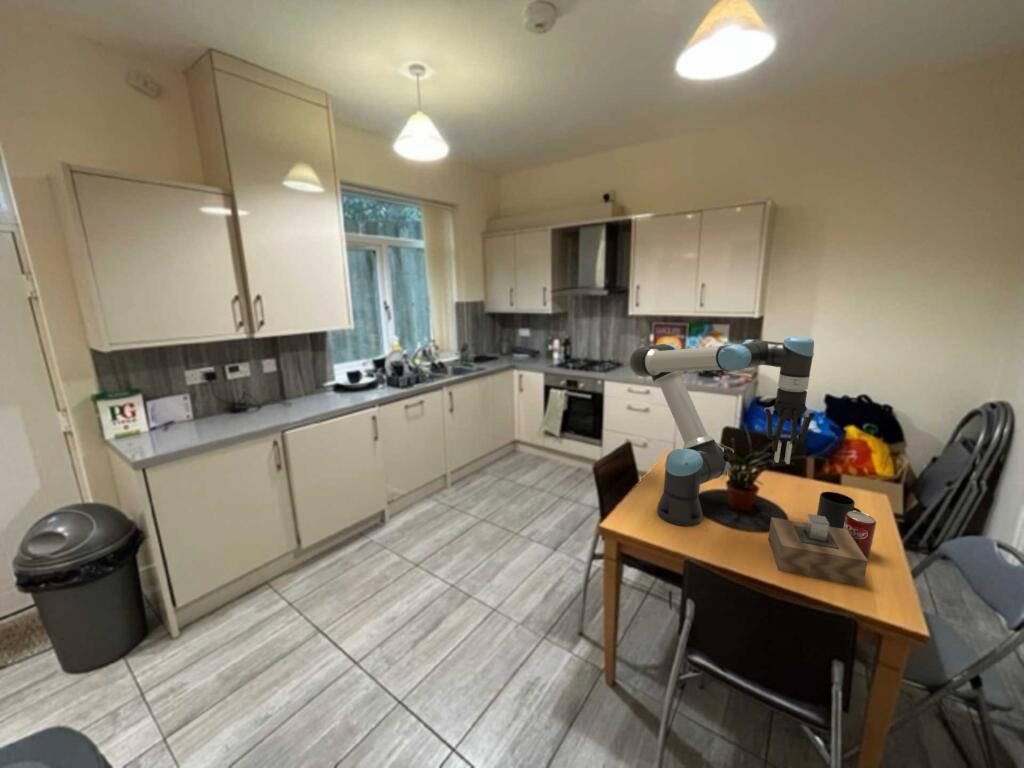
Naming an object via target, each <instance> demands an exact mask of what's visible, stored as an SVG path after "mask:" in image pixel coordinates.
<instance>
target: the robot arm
mask: <svg viewBox="0 0 1024 768" xmlns="http://www.w3.org/2000/svg"><path fill="white" fill-rule="evenodd" d="M814 348H815V341H814V339H812V338H811V337H807V336H806V337H805V336H786V337H785V338H784V341H783V342H778V341H769V340H760V339H746V340H744V342H743V343H737V344H736V343H735V344H727V345H725V344H724V345H717V346H716V345H715V346H714V345H713V346H705V347H701V346H700V347H691V348H689V347H688V348H681V349H680V348H678V346H676V345H673V344H672V343H671V344H670V343H661V344H654V345H648V346H646V345H645V346H642V347H641V346H640V347H639V348H637V349H635V350H634V351H633V352H632V353H631V356H630V357H629V367H630V369H631V371H632V372H633V373H634V374H636V376H639V377H642V378H647V377H651V379H652V381H653V383H654V384H656V385H658V386H659V387H660V390H661V392H662V393H663V397H664V398H665V399H664V400H665V401H666V404H667V406H668V408H669V410H670V412H671V415H672V418H673V419H674V422H675V425H676V427H677V429H678V431H679V434H680V436H681V438H682V441H683V447H682V448H676V449H674V450H672V451H670V452H668V453H667V456H666V460H665V464H664V467H665V470H664V483H663V492H662V494H661V496H660V499H659V501H658V503H657V505H656V513H657V515H658V516H659V518H661V519H662V520H664V521H665V522H667V523H670V524H673V525H676V526H679V527H680V526H682V527H691V526H692V527H693V526H697V525H698V524H701V522H702V520H703V511H702V506H701V502H700V498H699V497H700V489H701V488H700V487H701V485H702V484H705V483H707V482H710V481H713V480H716V479H718V478H720V477H722V476H723V475H725V474H726V473H727V472H728V470H729V468H730V464H728V462H726V461H725V460H724V458H723V457H724V448H723V447H721V446H719V445H720V444H717V443H716V440H715V438H713V437H711V436H709V434H707V431H706V429H705V427H704V425H703V422H702V420H701V418H700V416H699V413H698V411H697V409H696V407H695V404H694V402H693V400H692V398H691V395H690V393H689V391H688V389H687V386H686V384H685V381H684V380H683V378H682V377H683V373H684V372H695V371H696V372H697V371H700V372H701V371H722V370H725V371H730V372H731V371H733V372H735V371H741V370H744V369H749V368H755V367H759V366H766V367H775V368H780V370H779V377H778V383H777V387H778V388H777V391H776V396H775V397H776V399H775V402H774V403H773V404H772V406H769V407H767V406H765V407H764V408H763V411H764V412H765V416H766V417H765V419H766V438H767V439H768V440H770V441H772V443H771V444H772V446H771V449H772V452H774V458H773V459H774V460H773V461H774V462H775V463H777V464H778V463H779V461H780V456H781V450H782V449H781V448H782V442H781V440H780V438H781V435H782V431H783V428H784V424H785V423H786V420H790V437H789V439H790V441H789V440H787V441H786V448H785V455H784V456H785V457H784V462H785V464H786V465H790V463H791V455H792V454H795V452H796V448H797V445H798V444H800V443H801V444H803V443H804V442H805V441H806V437H807V433H808V431H809V428H810V425H811V422H812V420H814V418H815V416H816V414H815V412H814V411H812V410H809V409H807V406H806V402H807V397H808V396H807V395H808V391H807V390H808V388H809V381H810V376H811V368H812V364H813V358H814V355H815V354H814V351H815V350H814ZM774 411H775V412H776V413H777V416H778V417H777V422H776V426H775V428H774V432H773V414H774ZM802 415H803V416H804V418H803V421H802V423H801V426H800V429H799V432H798V422H799V418H800V417H801V416H802Z"/></svg>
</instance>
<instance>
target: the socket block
mask: <svg viewBox="0 0 1024 768" xmlns="http://www.w3.org/2000/svg"><path fill="white" fill-rule="evenodd" d="M806 528H807V522H803V521H797V520H790V519H786V518H779V517H772V516H771V518H770V523H769V530H768V538H767V541H768V544H769V546H770V550H771V552H772V556H773V558H774V561H775V564H776V567H777V570H778V571H782V572H783V571H784V572H788V573H793V574H798V575H803V576H807V577H812V578H818V579H824V580H826V581H831V582H832V581H833V582H839V583H842V584H843V583H844V584H847V585H852V586H853V585H854V586H858V587H864V586H863V585H864V583H865V577H866V572H867V569H868V568H867V567H868V563H869V560H868V559H867V557H865V556H864V554H863V553H862V551H861V550H860V548H859V547H858V545H857V544H856V542H855V541H854V539H853V538H852V536H851V535H850V533H849V532H848V530H847V529H841V528H835V527H830V526H829V527H828V533H827V538H826V542H821V541H815V540H809V539H808V538H807V536H806Z"/></svg>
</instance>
